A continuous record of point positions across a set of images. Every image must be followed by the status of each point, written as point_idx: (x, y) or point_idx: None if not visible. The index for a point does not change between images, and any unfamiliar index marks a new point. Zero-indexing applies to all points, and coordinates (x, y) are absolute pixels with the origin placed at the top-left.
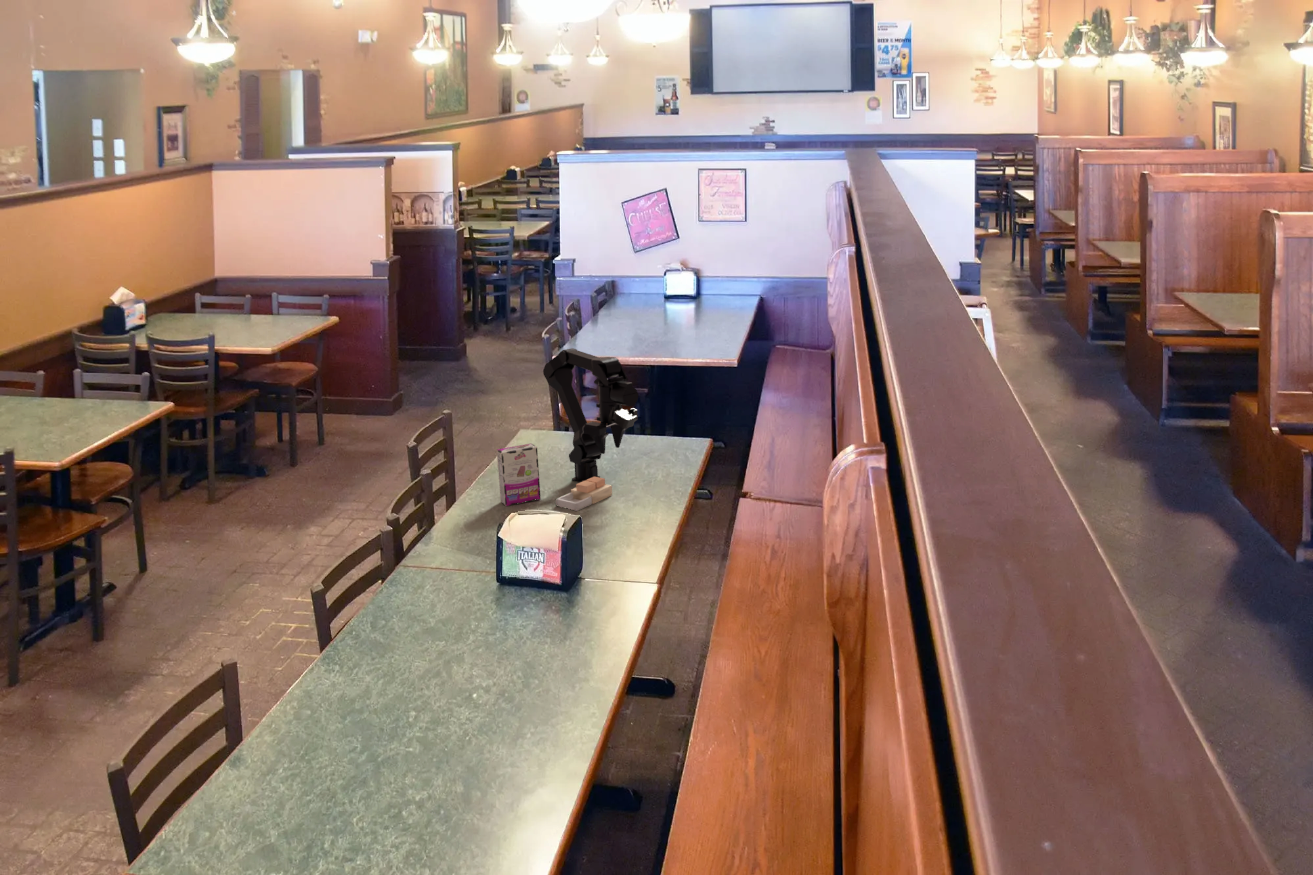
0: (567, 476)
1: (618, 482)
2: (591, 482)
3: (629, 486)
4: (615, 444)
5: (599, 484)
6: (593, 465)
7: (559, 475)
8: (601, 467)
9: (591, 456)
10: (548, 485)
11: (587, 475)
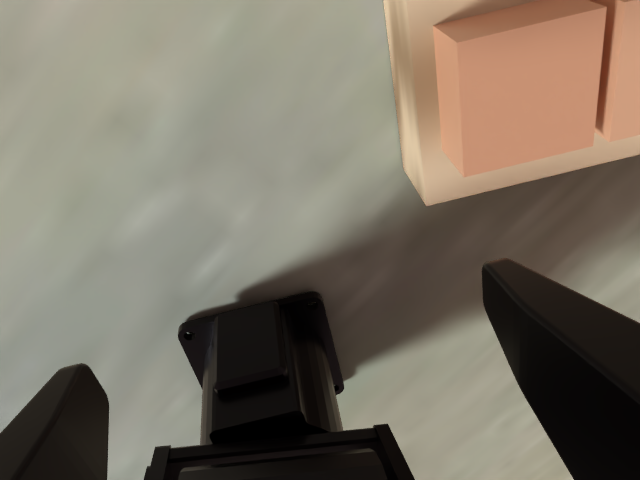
0: None
1: (117, 180)
2: (632, 44)
3: (93, 28)
4: (102, 445)
5: (535, 11)
6: (252, 394)
7: None
8: None
9: (294, 457)
10: (485, 386)
11: (298, 345)
